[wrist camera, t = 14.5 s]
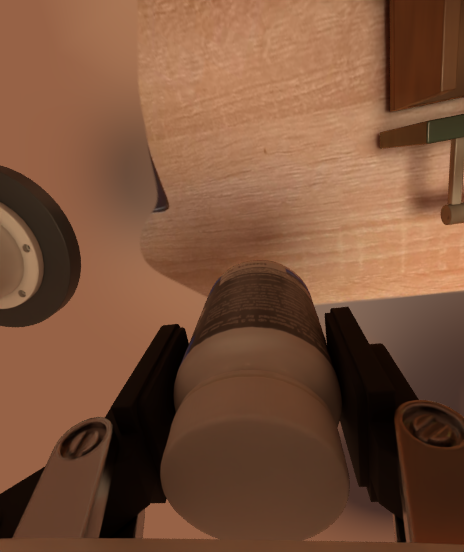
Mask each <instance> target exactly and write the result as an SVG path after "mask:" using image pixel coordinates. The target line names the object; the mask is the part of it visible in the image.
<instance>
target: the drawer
mask: <svg viewBox="0 0 464 552" xmlns="http://www.w3.org/2000/svg"><path fill="white" fill-rule="evenodd" d="M461 97H464V0H390V111H391V112H392V111H397V110H402V109H407V108H412V107H417V106H422V105H427V104H431V103H436V102H441V101H446V100H451V99H456V98H461ZM446 140H451V152H450V169H449V187H448V204H449V205H445V206H443V207H442V210H441V219H442V222H443V223H444V224H445V225H452V224H459V223H464V202H462V203H461V199H462V184H463V170H464V114H461V115H456V116H451V117H446V118H440V119H435V120H430V121H426V122H422V123H418V124H413V125H409V126H405V127H401V128H397V129H393V130H389V131H384V132H381V133H380V148H381V149H382V148H392V147H402V146H412V145H422V144H430V143H435V142H441V141H446Z"/></svg>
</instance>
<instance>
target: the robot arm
mask: <svg viewBox="0 0 464 552" xmlns="http://www.w3.org/2000/svg"><path fill="white" fill-rule="evenodd" d="M43 275H44V262H43V256H42V252H41V249H40V246H39V243H38V241H37V239H36V237H35V236H34V234H33V232H32V231H31V229H30V228H29V227H28V225H27V224H26V223H25V221H24V220H23V219H22V218H21V217H20V216H19V215H18V214H17V213H16V212H14V211H13V210H12V209H10V208H9V207H8V206H6V205H5V204H3V203H1V202H0V309H8V308H12V307H16V306H18V305H20V304H22V303H24V302H25V301H27V300H28V299H30V298H31V297H33V295H34V294H35V293H36V292H37V291H38V289H39V287H40V285H41V283H42V279H43ZM325 326H326V339H327V348H328V352H329V354H330V357H331V360H332V364H333V366H334V369H335V372H336V375H337V378H338V382H339V385H340V390H341V396H342V412H341V417H340V422H341V426H342V429H343V433H344V437H345V440H346V444H347V447H348V451H349V454H350V457H351V461H352V465H353V468H354V472H355V475H356V479H357V482H358V485H359V487H367V490H368V493H369V496H370V500H371V502H379V503H380V504H381V505H382V506H384V507H385V508H386V509H388V510H389V511H390V512H392V513H393V522H394V533H395V542H345V541H293V540H224V539H142V538H143V529H144V518H145V508H146V507H147V506H148V505H150V503H165V502H166V499H167V498H166V496H165V494H164V491H163V488H162V484H161V478H160V469H161V461H162V457H163V454H164V450H165V447H166V444H167V441H168V437H169V433H170V429H171V425H172V422H173V419H174V416H175V414H176V412H175V407H174V397H173V395H174V384H175V380H176V376H177V372H178V369H179V367H180V364H181V362H182V360H183V357H184V355H185V352H186V350H187V348H188V345H189V343H188V339H187V335H186V331H185V329H184V328H180V326H179V325H178V324H173V325H163V326H162V327H161V328H160V330H159V331H158V333H157V335H156V336H155V338H154V339H153V341H152V342H151V344H150V346H149V347H148V349H147V350H146V352H145V354H144V355H143V357H142V358H141V360H140V362H139V363H138V365H137V366H136V368H135V370H134V371H133V373H132V374H131V376H130V377H129V379H128V381H127V382H126V384H125V385H124V387H123V389H122V390H121V392H120V393H119V395H118V397H117V398H116V400H115V401H114V403H113V405H112V406H111V409H110V410H109V412H108V414H107V415H106V417H105V418H103V417H96V418H90V419H87V420H84V421H82V422H80V423H78V424H77V425H75V426H73V427H72V428H71V429H69V430H68V431H67V432H66V433H65V434H64V435H63V436H62V437H61V438H60V439H59V441H58V442H57V444H56V445H55V447H54V449H53V451H52V453H51V456H50V458H49V460H48V462H47V464H46V466H45V467H43V468H42V469H40V470H39V471H37V472H35V473H34V474H32V475H31V476H29V477H27V478H26V479H24V480H22V481H21V482H19V483H17V484H16V485H14V486H13V487H11V488H9V489H8V490H6V491H4V492H3V493H1V494H0V552H464V417H463V416H462V415H460V414H459V413H458V412H456V411H454V410H453V409H451V408H450V407H447V406H445V405H442V404H439V403H437V402H432V401H427V400H419V399H418V398H417V396H416V395H415V393H414V392H413V390H412V388H411V387H410V385H409V384H408V382H407V381H406V379H405V378H404V376H403V374H402V373H401V371H400V370H399V368H398V367H397V365H396V363H395V362H394V360H393V359H392V357H391V355H390V354H389V352H388V351H387V349H386V348H385V346H384V345H383V344H369V343H368V341H367V339H366V337H365V336H364V334H363V332H362V330H361V329H360V327H359V325H358V323H357V321H356V319H355V318H354V316H353V314H352V313H351V311H350V309H349V307H341V308H331V310H330V313H325Z"/></svg>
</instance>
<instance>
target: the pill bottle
mask: <svg viewBox="0 0 464 552" xmlns="http://www.w3.org/2000/svg"><path fill="white" fill-rule="evenodd" d="M173 397H174V407H175V412H176V414H175V416H174V419H173V422H172V425H171V429H170V433H169V437H168V441H167V444H166V447H165V450H164V454H163V457H162V461H161V469H160V478H161V484H162V488H163V491H164V494H165V496H166V498H167V499H168V501H169V503H170V504H171V506H172V507H173V508H174V510H175V511H176V512H177V513H178V514H179V515H181V516H182V517H183V518H184V519H185V520H186V521H187V522H188V523H190V524H191V525H193V526H194V527H195V528H197V529H199V530H200V531H202V532H204V533H206V534H208V535H210V536H213V537H215V538H218V539H224V540H293V541H302V540H305V539H308V538H311V537H313V536H315V535H317V534H319V533H320V532H322V531H324V530H325V529H327V528H328V527H329V526H330V525H332V524H333V523H334V522H335V521H336V520H337V518H338V517H339V516H340V515H341V513H342V512H343V510H344V508H345V506H346V503H347V500H348V496H349V488H350V482H349V473H348V468H347V465H346V461H345V456H344V452H343V449H342V444H341V440H340V436H339V432H338V429H337V427H338V424H339V421H340V417H341V412H342V396H341V390H340V385H339V382H338V378H337V375H336V372H335V369H334V366H333V364H332V360H331V357H330V354H329V352H328V348H327V345H326V340H325V337H324V334H323V332H322V328H321V325H320V323H319V318H318V316H317V313H316V311H315V307H314V305H313V302H312V299H311V296H310V293H309V291H308V289H307V287H306V285H305V283H304V282H303V281H302V279H301V278H300V277H299V276H298V275H297V274H295V273H294V272H293V271H292V270H290V269H289V268H287V267H285V266H283V265H281V264H278V263H276V262H272V261H266V260H255V261H248V262H243V263H241V264H238V265H235V266H233V267H231V268H230V269H228V270H227V271H226V272H225V273H223V274H222V275H221V276H220V277H219V278H218V280H217V281H216V282H215V284H214V286H213V287H212V289H211V291H210V293H209V296H208V298H207V301H206V303H205V306H204V308H203V311H202V313H201V316H200V318H199V320H198V323H197V326H196V328H195V331H194V333H193V336H192V338H191V341H190V343H189V345H188V348H187V350H186V352H185V355H184V357H183V360H182V362H181V364H180V367H179V369H178V372H177V376H176V380H175V384H174V395H173Z"/></svg>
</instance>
